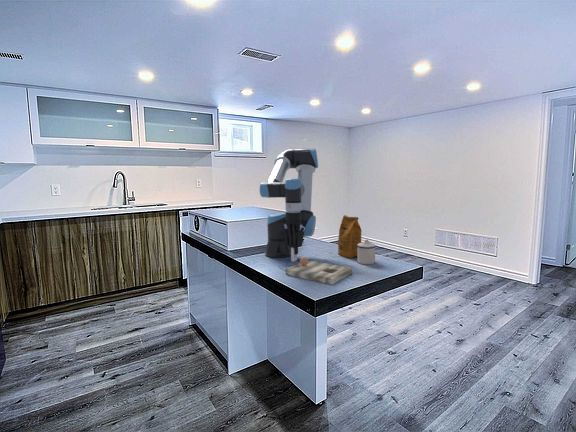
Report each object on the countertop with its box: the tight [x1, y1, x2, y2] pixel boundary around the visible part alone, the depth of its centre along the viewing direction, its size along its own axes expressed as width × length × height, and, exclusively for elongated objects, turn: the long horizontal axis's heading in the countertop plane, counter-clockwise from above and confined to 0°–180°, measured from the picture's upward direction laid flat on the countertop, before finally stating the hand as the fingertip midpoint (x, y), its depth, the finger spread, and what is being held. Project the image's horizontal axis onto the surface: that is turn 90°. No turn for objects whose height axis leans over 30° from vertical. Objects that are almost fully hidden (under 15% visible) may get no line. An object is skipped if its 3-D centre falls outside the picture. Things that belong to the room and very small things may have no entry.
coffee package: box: [337, 214, 362, 259], centre depth 174 cm, size 10×12×22 cm
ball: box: [299, 256, 309, 266], centre depth 148 cm, size 4×4×4 cm
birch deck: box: [285, 259, 353, 285], centre depth 144 cm, size 24×18×2 cm
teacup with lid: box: [356, 239, 377, 265], centre depth 162 cm, size 12×9×12 cm
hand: (294, 260), depth 151 cm, fingers closed
